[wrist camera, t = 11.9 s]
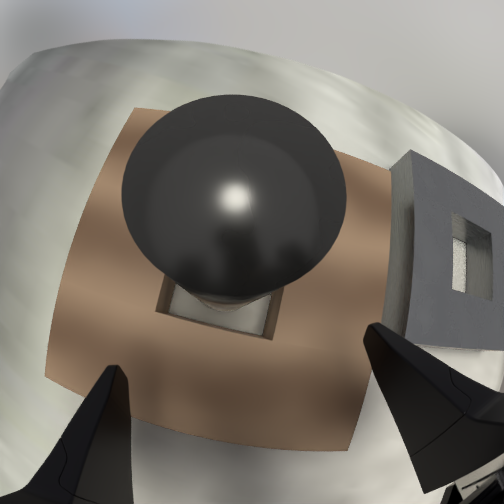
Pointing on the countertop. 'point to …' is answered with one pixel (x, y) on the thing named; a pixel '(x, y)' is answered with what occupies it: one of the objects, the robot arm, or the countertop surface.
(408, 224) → the socket block
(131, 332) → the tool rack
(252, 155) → the dark rounded cylinder
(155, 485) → the countertop surface
